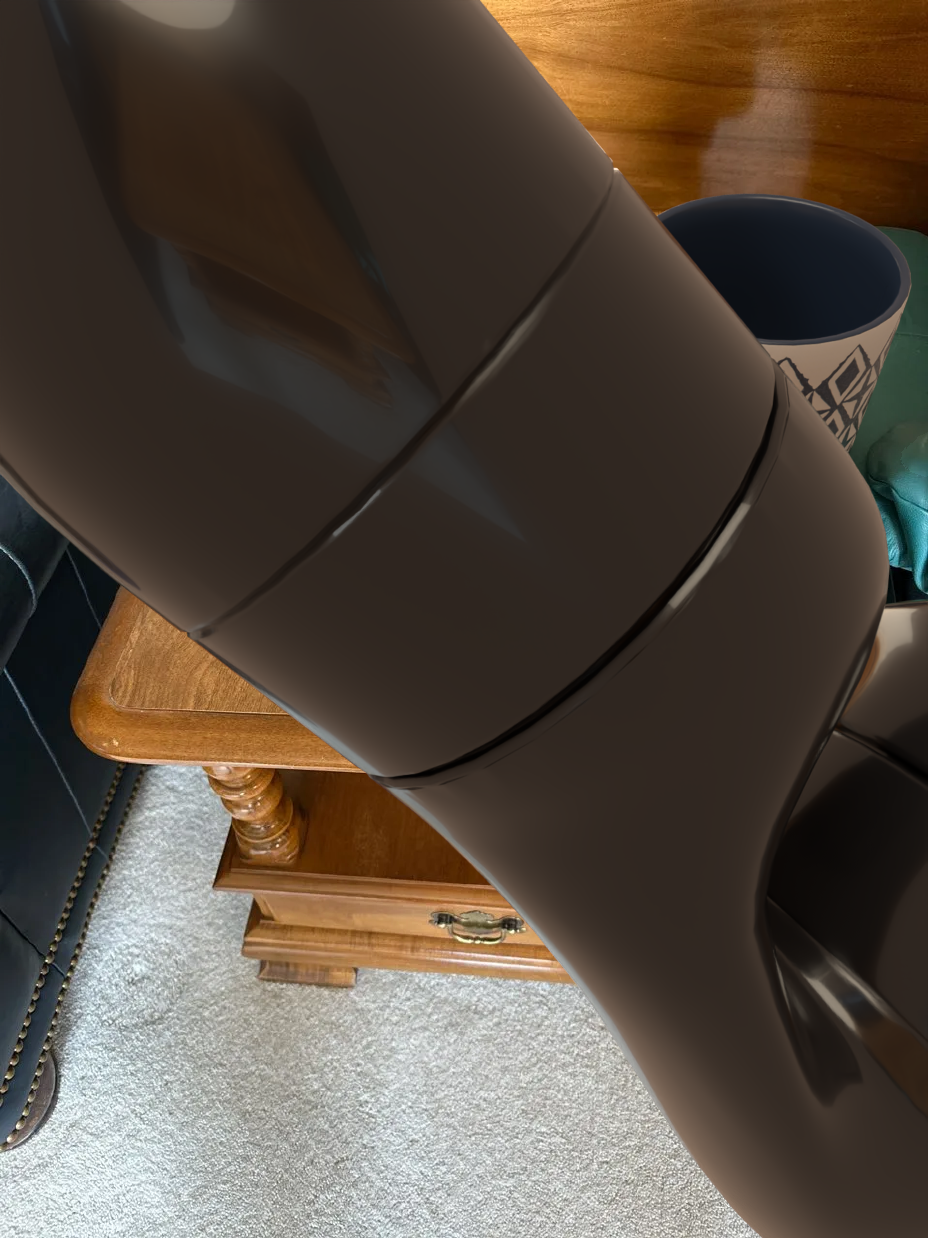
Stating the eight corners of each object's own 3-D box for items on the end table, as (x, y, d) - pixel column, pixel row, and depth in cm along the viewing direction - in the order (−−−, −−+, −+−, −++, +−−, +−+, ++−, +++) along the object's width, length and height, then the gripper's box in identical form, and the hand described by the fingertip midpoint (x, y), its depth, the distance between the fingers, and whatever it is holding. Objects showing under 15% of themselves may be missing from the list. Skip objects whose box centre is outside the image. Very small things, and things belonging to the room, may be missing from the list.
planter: (768, 362, 80) (819, 173, 67) (887, 502, 69) (974, 308, 56) (572, 407, 77) (585, 219, 64) (663, 560, 66) (700, 371, 53)
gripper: (824, 568, 31) (669, 551, 47) (408, 639, 30) (394, 597, 46) (848, 781, 32) (688, 694, 48) (445, 858, 31) (419, 742, 47)
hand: (544, 646), depth 47 cm, fingers open, 8 cm apart
